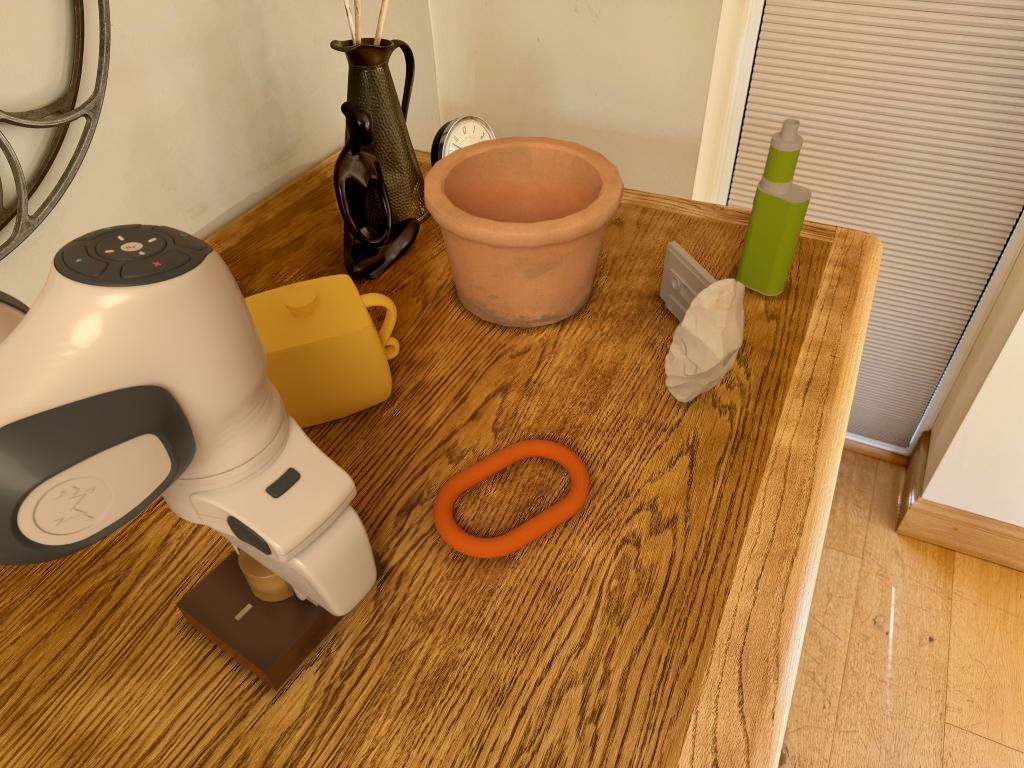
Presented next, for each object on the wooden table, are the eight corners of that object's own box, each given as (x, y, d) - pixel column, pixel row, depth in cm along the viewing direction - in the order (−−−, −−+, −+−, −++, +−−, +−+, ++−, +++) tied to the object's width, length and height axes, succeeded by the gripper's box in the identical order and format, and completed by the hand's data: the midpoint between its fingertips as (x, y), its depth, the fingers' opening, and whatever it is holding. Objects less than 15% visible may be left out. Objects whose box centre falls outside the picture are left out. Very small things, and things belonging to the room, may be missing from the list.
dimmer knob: (319, 571, 57) (309, 544, 55) (275, 612, 55) (262, 586, 52) (282, 543, 59) (271, 515, 57) (238, 582, 57) (224, 554, 54)
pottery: (448, 236, 98) (439, 133, 88) (612, 240, 96) (621, 137, 86) (420, 339, 82) (405, 229, 72) (615, 347, 81) (626, 235, 71)
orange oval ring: (411, 493, 64) (546, 420, 70) (414, 505, 65) (546, 432, 71) (471, 571, 58) (612, 484, 64) (472, 582, 60) (611, 496, 66)
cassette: (655, 296, 87) (663, 241, 82) (668, 293, 88) (677, 238, 82) (710, 357, 79) (723, 301, 74) (725, 353, 79) (739, 296, 74)
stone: (679, 429, 72) (703, 308, 61) (652, 394, 75) (671, 274, 65) (747, 407, 73) (782, 286, 63) (717, 374, 77) (746, 255, 67)
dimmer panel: (276, 692, 53) (265, 672, 51) (188, 623, 58) (174, 602, 55) (383, 572, 60) (377, 550, 58) (298, 518, 65) (290, 496, 62)
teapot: (225, 457, 70) (185, 367, 62) (210, 377, 78) (173, 289, 70) (422, 396, 75) (409, 306, 67) (388, 328, 84) (373, 241, 76)
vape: (745, 266, 91) (782, 110, 77) (789, 285, 88) (836, 126, 74) (729, 279, 89) (765, 122, 75) (774, 299, 86) (819, 138, 72)
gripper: (89, 420, 49) (161, 537, 59) (298, 565, 41) (343, 674, 50) (167, 368, 53) (223, 485, 63) (374, 490, 45) (403, 605, 54)
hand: (278, 570), depth 56 cm, fingers closed on dimmer knob, 4 cm apart
